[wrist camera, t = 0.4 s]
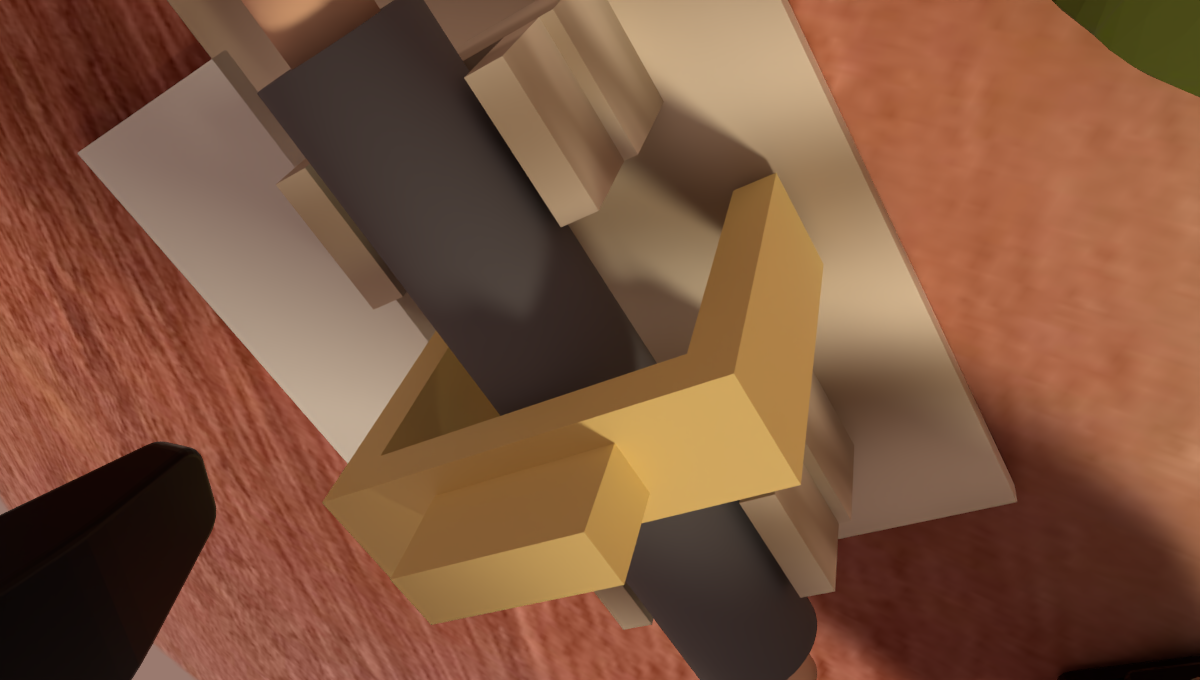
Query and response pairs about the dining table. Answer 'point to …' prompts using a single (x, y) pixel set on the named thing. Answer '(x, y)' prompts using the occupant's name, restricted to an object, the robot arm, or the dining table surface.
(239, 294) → the mat
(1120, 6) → the gun
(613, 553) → the strap
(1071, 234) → the dining table surface
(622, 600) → the holder
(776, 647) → the dark grey cylinder rod
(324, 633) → the dining table surface
